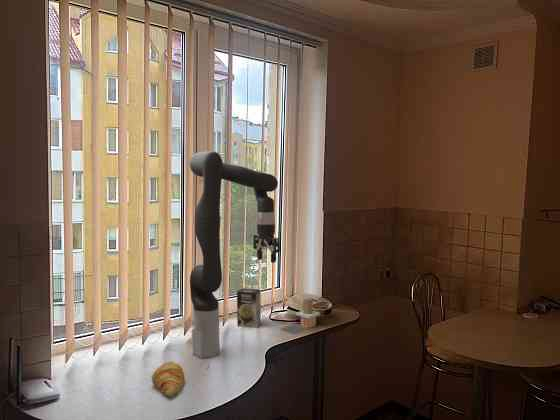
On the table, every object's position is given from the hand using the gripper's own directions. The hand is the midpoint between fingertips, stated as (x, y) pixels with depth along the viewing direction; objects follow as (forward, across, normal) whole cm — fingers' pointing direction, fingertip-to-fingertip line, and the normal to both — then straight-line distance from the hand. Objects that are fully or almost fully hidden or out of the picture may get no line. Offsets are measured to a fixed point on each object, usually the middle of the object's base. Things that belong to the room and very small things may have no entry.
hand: (266, 260), depth 197 cm
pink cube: (+30, +8, +16) cm, 35 cm away
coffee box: (+30, -10, -2) cm, 32 cm away
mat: (+30, +8, +8) cm, 32 cm away
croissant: (+31, +14, -56) cm, 65 cm away
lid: (+25, +8, +16) cm, 31 cm away
